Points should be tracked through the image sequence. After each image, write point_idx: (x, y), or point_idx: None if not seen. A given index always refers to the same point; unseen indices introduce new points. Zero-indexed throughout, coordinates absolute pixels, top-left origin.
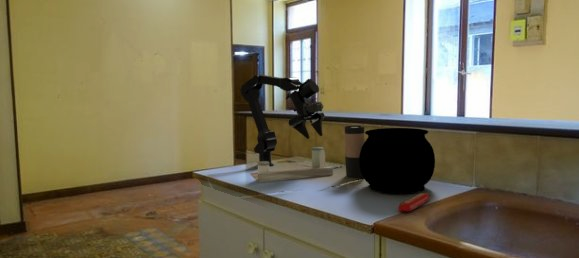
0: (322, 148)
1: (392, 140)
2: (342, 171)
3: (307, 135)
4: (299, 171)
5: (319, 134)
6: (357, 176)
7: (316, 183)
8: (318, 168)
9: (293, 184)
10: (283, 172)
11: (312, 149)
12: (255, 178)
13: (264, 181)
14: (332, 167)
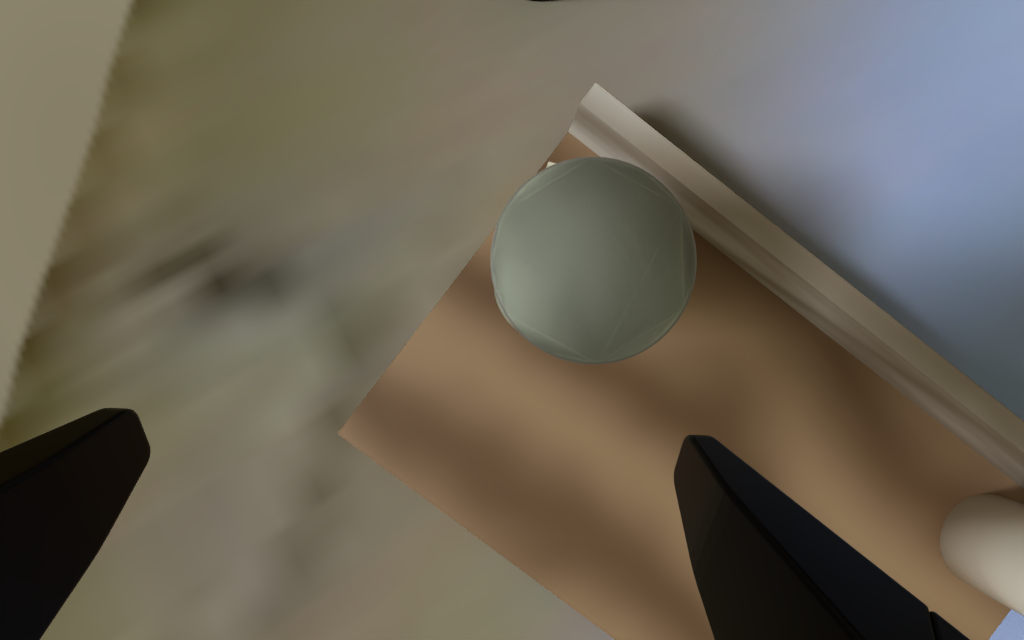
0: (607, 158)
1: None
2: (361, 147)
3: (765, 489)
4: (862, 298)
5: (116, 497)
6: None
7: (838, 120)
8: (712, 179)
9: (942, 264)
10: (988, 394)
11: (682, 301)
12: (988, 629)
13: None
14: (596, 85)
